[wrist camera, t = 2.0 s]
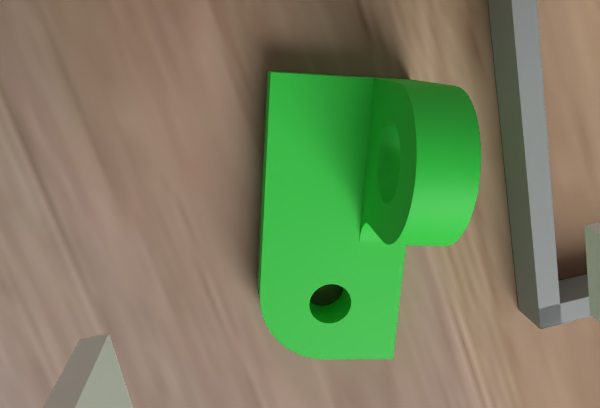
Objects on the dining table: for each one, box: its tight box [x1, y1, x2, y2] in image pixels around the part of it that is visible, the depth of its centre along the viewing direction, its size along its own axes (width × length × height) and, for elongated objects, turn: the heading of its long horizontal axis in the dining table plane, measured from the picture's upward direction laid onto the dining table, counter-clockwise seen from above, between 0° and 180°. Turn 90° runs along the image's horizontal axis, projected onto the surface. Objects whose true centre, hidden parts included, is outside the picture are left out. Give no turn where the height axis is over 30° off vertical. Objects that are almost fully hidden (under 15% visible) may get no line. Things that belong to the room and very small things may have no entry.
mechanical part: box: [258, 71, 481, 359], centre depth 22 cm, size 12×6×8 cm, turn 176°
